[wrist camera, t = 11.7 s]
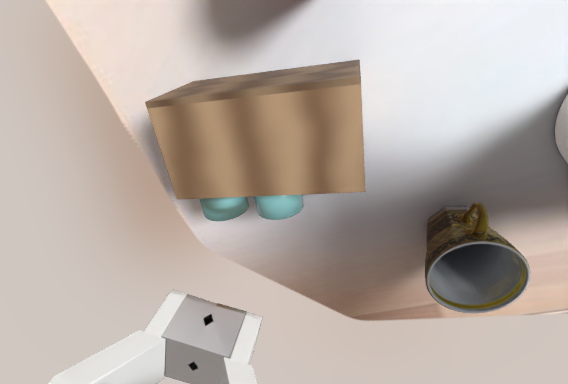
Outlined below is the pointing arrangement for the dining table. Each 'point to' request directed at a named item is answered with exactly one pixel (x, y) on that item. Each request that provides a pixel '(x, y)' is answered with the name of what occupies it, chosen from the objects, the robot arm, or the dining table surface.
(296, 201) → the knob
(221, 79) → the block
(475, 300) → the ceramic cup
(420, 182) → the dining table surface
